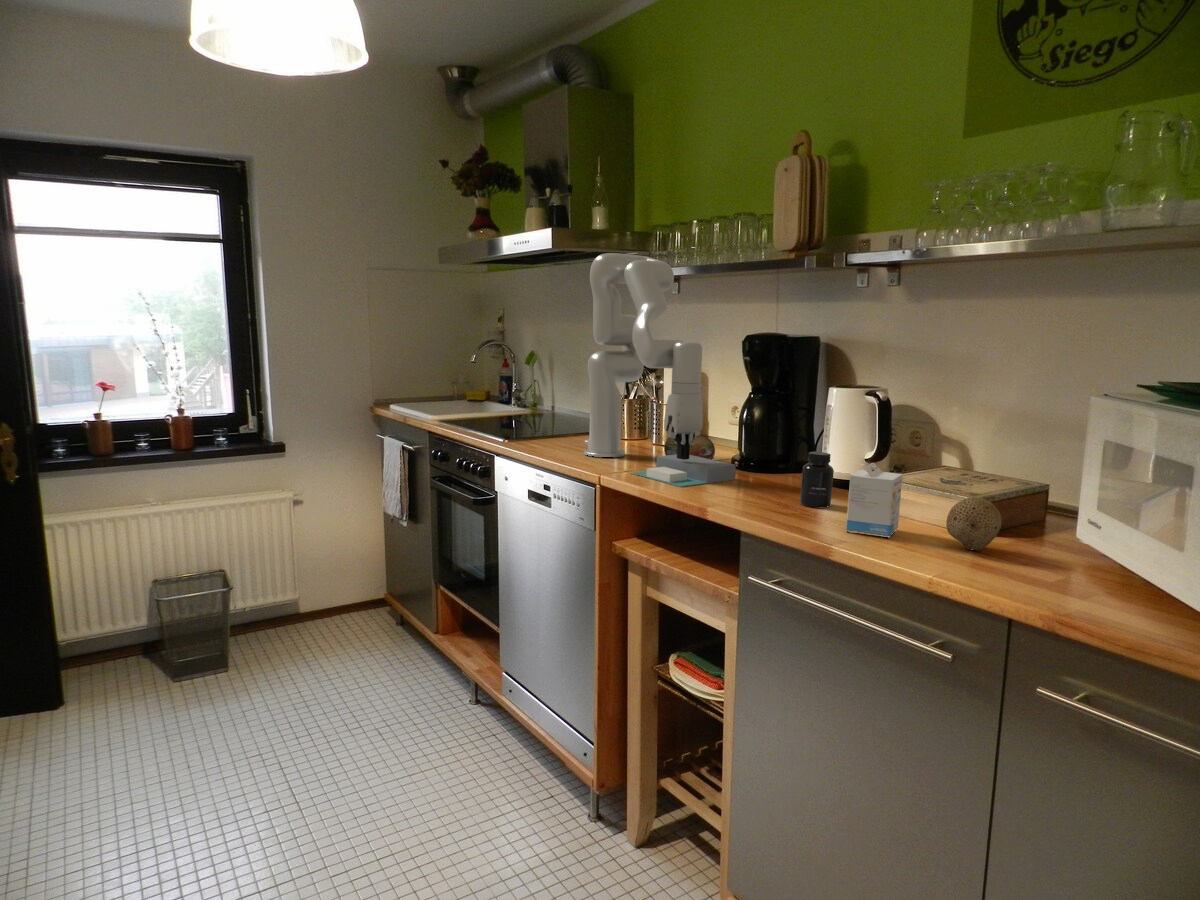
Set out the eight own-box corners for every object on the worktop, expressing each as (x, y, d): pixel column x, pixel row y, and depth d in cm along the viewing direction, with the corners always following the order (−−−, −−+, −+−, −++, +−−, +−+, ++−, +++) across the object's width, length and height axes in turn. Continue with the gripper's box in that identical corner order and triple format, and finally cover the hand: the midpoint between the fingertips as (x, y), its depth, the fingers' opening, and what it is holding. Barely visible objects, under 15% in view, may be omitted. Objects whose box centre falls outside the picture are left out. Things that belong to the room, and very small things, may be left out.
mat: (630, 473, 207) (630, 472, 207) (656, 470, 213) (656, 469, 213) (680, 487, 192) (680, 486, 192) (707, 483, 197) (707, 482, 197)
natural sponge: (972, 559, 136) (978, 504, 135) (932, 546, 144) (937, 494, 143) (1008, 554, 140) (1014, 501, 138) (967, 541, 148) (973, 490, 146)
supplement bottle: (814, 509, 171) (818, 456, 170) (793, 503, 177) (797, 451, 175) (837, 506, 175) (841, 454, 173) (816, 500, 181) (819, 450, 179)
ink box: (889, 539, 148) (895, 471, 146) (844, 532, 153) (850, 466, 150) (898, 530, 155) (904, 464, 153) (855, 523, 160) (861, 460, 158)
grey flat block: (656, 470, 213) (656, 456, 212) (683, 467, 219) (683, 453, 218) (707, 483, 197) (707, 468, 196) (734, 479, 203) (735, 464, 202)
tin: (663, 461, 227) (664, 433, 226) (667, 460, 230) (668, 432, 229) (711, 467, 220) (713, 438, 219) (715, 465, 223) (717, 436, 222)
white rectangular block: (663, 466, 206) (663, 474, 207) (646, 468, 203) (646, 476, 203) (687, 472, 199) (686, 479, 200) (669, 474, 196) (669, 482, 196)
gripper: (696, 387, 209) (693, 454, 212) (654, 389, 200) (652, 458, 203) (716, 389, 203) (713, 458, 206) (674, 391, 194) (671, 463, 197)
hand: (682, 458), depth 204 cm, fingers closed
